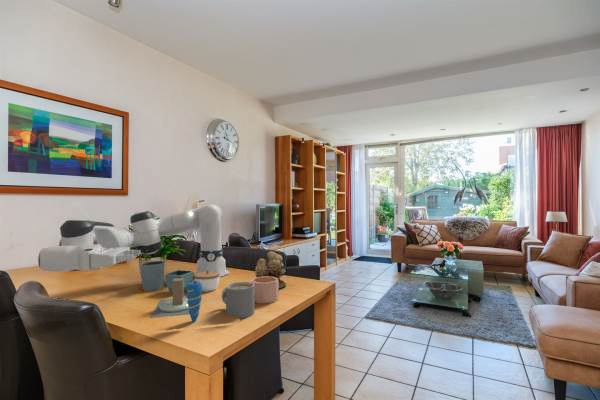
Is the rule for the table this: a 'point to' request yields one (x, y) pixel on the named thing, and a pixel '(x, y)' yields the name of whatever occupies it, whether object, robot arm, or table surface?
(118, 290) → the table surface
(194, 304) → the ornament
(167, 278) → the flower pot
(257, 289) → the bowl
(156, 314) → the mat
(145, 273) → the blue-grey tapered cup
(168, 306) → the lid
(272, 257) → the brown rock sculpture
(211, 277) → the lidded jar
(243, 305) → the coffee mug
